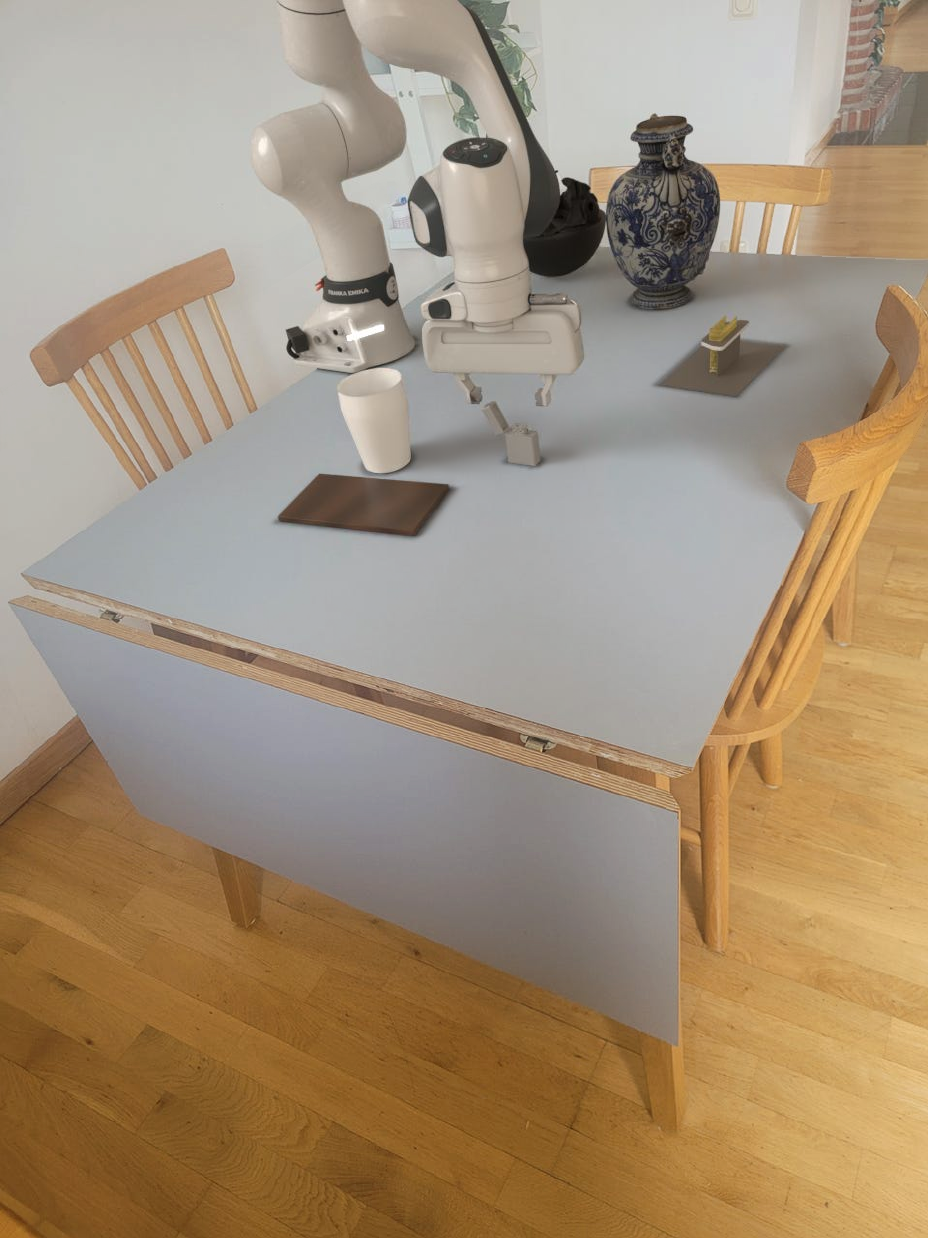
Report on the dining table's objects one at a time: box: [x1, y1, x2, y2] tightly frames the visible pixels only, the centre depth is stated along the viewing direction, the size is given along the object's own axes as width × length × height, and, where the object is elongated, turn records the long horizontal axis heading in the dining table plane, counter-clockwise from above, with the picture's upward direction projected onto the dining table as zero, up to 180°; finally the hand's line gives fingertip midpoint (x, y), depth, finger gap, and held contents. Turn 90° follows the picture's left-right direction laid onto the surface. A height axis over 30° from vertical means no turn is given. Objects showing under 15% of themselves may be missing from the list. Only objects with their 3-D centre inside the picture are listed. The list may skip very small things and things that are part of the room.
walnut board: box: [277, 473, 450, 537], centre depth 111 cm, size 20×11×1 cm, turn 67°
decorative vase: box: [605, 112, 721, 311], centre depth 142 cm, size 21×19×28 cm
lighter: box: [481, 400, 541, 467], centre depth 112 cm, size 7×2×8 cm, turn 59°
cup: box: [336, 367, 412, 474], centre depth 116 cm, size 9×9×12 cm
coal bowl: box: [523, 170, 606, 278], centre depth 164 cm, size 20×20×19 cm
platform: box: [658, 315, 786, 397], centre depth 125 cm, size 12×18×7 cm, turn 143°
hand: (509, 403), depth 109 cm, fingers open, 8 cm apart
